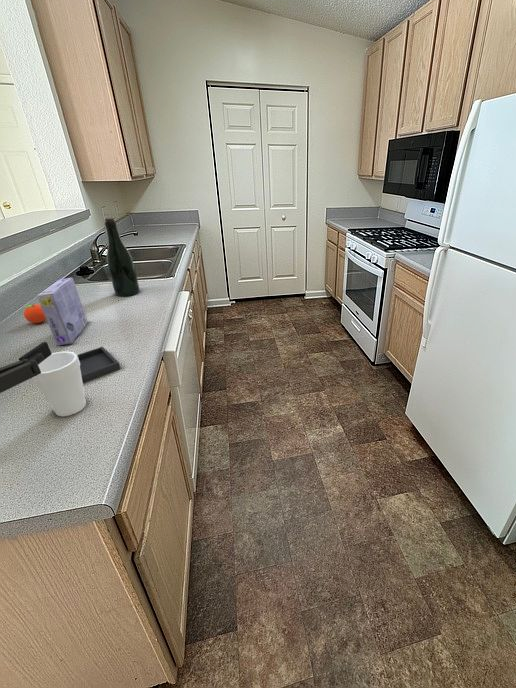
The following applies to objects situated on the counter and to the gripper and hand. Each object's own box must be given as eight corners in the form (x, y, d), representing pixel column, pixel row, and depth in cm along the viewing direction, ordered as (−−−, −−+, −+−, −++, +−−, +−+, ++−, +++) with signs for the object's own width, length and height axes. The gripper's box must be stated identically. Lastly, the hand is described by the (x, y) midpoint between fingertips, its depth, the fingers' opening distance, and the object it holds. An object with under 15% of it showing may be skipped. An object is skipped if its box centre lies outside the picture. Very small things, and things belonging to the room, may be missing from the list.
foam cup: (99, 393, 85) (84, 349, 79) (84, 418, 77) (66, 371, 71) (58, 397, 84) (40, 353, 78) (39, 423, 75) (17, 375, 70)
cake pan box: (75, 322, 124) (59, 277, 116) (90, 321, 125) (75, 275, 117) (55, 346, 107) (35, 295, 99) (72, 344, 108) (54, 294, 101)
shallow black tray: (53, 369, 95) (51, 363, 94) (104, 352, 104) (102, 346, 103) (66, 389, 87) (63, 382, 86) (120, 368, 95) (118, 362, 95)
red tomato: (21, 328, 120) (14, 310, 117) (27, 320, 126) (20, 303, 123) (47, 324, 123) (40, 306, 120) (52, 317, 128) (45, 300, 125)
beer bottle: (144, 292, 153) (127, 217, 138) (121, 298, 146) (100, 220, 131) (134, 287, 159) (116, 215, 144) (111, 293, 152) (90, 218, 137)
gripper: (-184, 453, 46) (-46, 372, 65) (1, 437, 46) (83, 362, 66) (-222, 409, 43) (-66, 338, 62) (-23, 393, 43) (70, 328, 63)
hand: (11, 350), depth 64 cm, fingers open, 13 cm apart
